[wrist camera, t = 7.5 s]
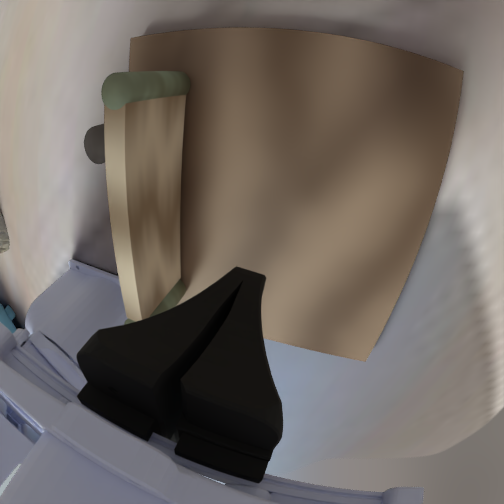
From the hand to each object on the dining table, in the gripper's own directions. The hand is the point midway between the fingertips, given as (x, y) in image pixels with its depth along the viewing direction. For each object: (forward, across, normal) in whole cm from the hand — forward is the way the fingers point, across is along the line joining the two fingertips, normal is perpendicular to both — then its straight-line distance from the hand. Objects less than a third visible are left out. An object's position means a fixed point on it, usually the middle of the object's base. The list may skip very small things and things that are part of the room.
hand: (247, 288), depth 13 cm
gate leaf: (+5, +6, 0) cm, 8 cm away
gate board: (+6, +1, -1) cm, 6 cm away
